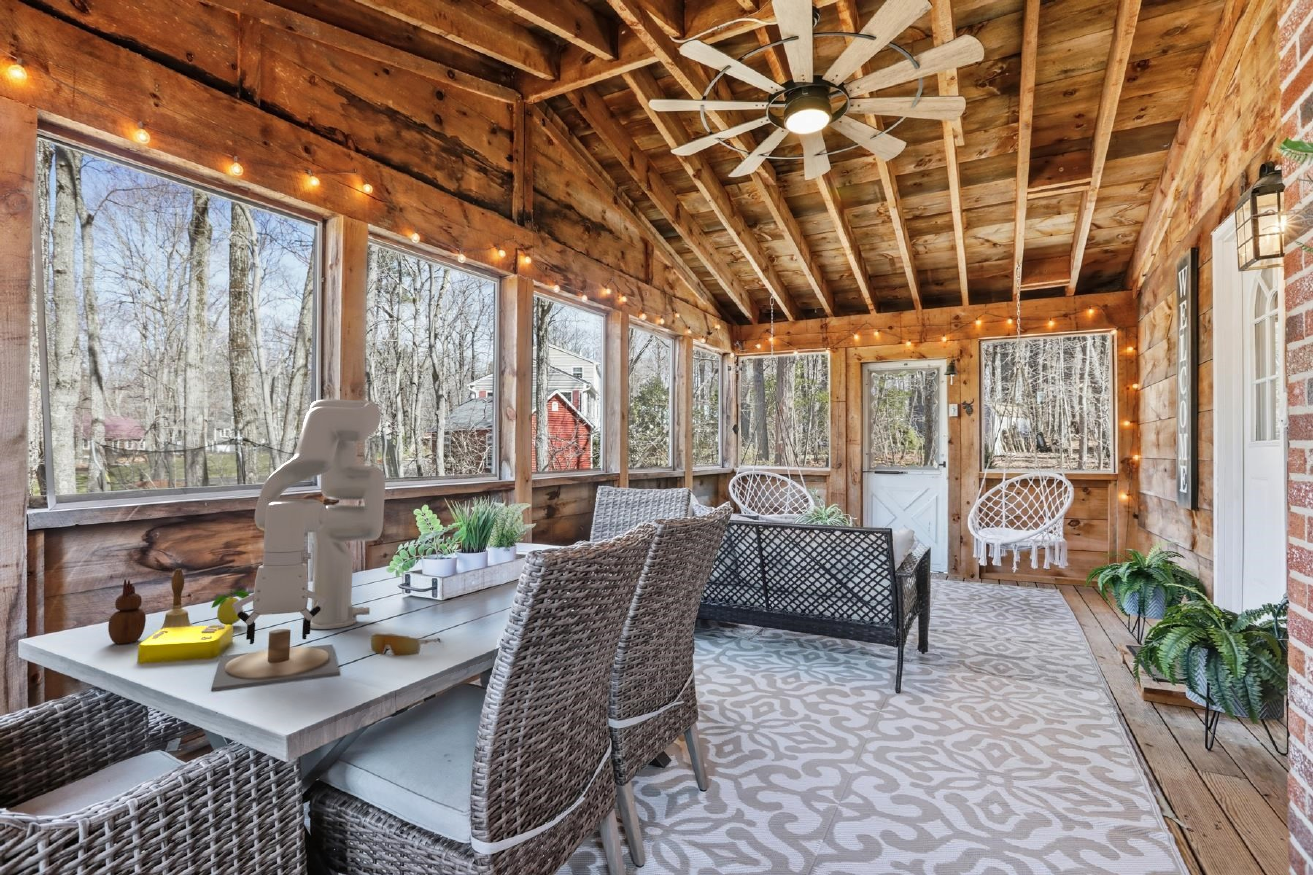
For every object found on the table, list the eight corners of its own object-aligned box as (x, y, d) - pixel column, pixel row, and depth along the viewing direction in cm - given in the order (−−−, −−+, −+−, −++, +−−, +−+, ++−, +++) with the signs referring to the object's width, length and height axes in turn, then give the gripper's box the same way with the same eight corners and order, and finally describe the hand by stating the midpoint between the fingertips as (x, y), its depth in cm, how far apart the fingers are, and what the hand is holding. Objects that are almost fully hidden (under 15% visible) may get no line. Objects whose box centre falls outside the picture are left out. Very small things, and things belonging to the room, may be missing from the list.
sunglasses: (358, 654, 149) (361, 631, 150) (395, 645, 164) (397, 625, 165) (414, 659, 147) (417, 636, 148) (447, 650, 161) (449, 629, 162)
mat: (332, 646, 154) (332, 644, 154) (339, 674, 135) (339, 671, 135) (220, 658, 143) (220, 655, 143) (211, 690, 124) (211, 687, 124)
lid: (325, 646, 152) (326, 617, 152) (331, 670, 135) (332, 637, 136) (228, 657, 142) (229, 625, 142) (221, 684, 126) (223, 648, 126)
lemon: (250, 624, 172) (252, 585, 172) (235, 629, 166) (237, 590, 166) (225, 623, 172) (227, 584, 172) (209, 628, 166) (211, 589, 166)
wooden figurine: (121, 647, 149) (125, 581, 149) (101, 644, 150) (105, 579, 151) (150, 639, 155) (153, 576, 156) (130, 637, 157) (134, 574, 157)
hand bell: (151, 639, 155) (155, 572, 156) (158, 631, 162) (162, 567, 163) (193, 636, 159) (197, 570, 159) (199, 628, 166) (202, 565, 167)
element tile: (160, 646, 152) (161, 625, 152) (234, 641, 157) (235, 621, 157) (133, 666, 138) (134, 643, 138) (216, 660, 143) (217, 638, 143)
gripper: (327, 555, 147) (323, 632, 146) (236, 558, 138) (231, 640, 137) (329, 559, 140) (325, 640, 139) (234, 563, 132) (228, 649, 131)
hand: (278, 640), depth 138 cm, fingers open, 9 cm apart
